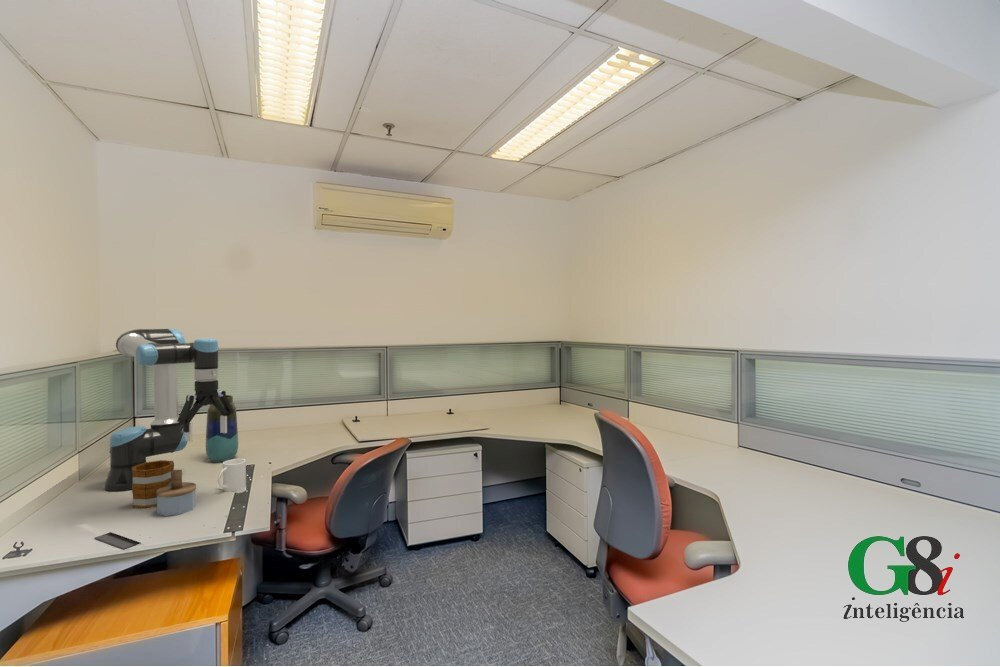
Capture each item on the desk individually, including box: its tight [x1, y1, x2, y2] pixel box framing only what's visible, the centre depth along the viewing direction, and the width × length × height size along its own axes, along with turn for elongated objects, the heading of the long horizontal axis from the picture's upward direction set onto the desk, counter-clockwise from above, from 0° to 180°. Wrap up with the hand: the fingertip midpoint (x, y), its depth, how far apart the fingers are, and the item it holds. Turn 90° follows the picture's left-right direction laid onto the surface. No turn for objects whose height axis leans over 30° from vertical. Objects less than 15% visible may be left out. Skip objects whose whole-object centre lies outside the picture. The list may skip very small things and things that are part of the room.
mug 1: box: [131, 459, 175, 509], centre depth 177 cm, size 20×14×15 cm
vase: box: [205, 394, 239, 463], centre depth 231 cm, size 14×14×31 cm
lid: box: [156, 469, 197, 497], centre depth 167 cm, size 12×12×7 cm
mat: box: [94, 531, 141, 551], centre depth 151 cm, size 16×14×1 cm
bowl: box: [156, 490, 197, 517], centre depth 167 cm, size 10×10×8 cm
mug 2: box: [217, 458, 247, 494], centre depth 188 cm, size 12×8×12 cm
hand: (206, 436), depth 176 cm, fingers open, 13 cm apart
